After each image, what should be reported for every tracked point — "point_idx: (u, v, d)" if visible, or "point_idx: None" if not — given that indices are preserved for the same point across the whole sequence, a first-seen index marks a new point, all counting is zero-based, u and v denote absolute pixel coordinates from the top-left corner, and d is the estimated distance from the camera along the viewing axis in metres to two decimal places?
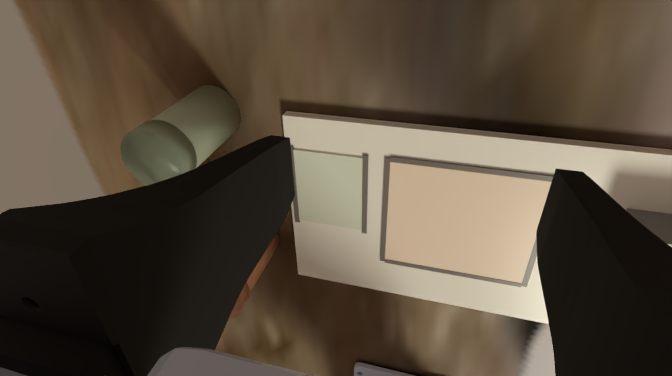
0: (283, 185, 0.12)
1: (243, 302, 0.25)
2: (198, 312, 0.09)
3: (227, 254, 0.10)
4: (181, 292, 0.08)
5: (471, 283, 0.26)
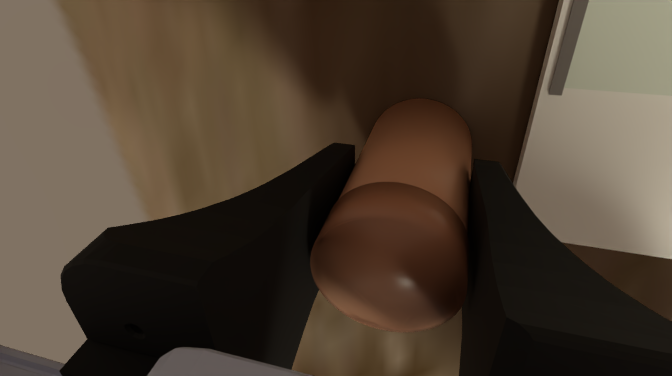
0: None
1: None
2: (282, 332, 0.09)
3: (305, 269, 0.09)
4: (272, 312, 0.08)
5: None
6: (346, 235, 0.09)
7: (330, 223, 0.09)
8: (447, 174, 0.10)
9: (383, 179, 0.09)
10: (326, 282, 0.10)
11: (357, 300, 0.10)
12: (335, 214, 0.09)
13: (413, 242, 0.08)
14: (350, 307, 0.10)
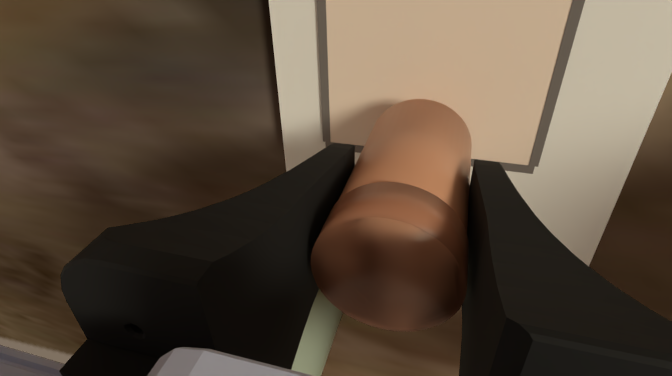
0: None
1: None
2: (282, 332, 0.09)
3: (304, 269, 0.09)
4: (272, 312, 0.08)
5: None
6: (347, 235, 0.09)
7: (331, 222, 0.09)
8: (448, 175, 0.10)
9: (384, 180, 0.09)
10: (326, 281, 0.10)
11: (357, 299, 0.10)
12: (336, 213, 0.09)
13: (414, 242, 0.08)
14: (349, 305, 0.10)
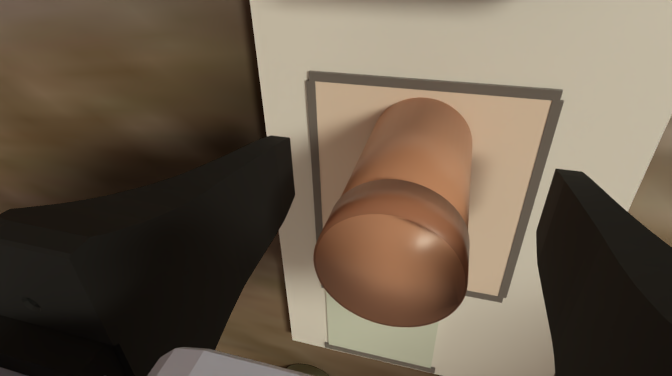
0: (283, 185, 0.12)
1: None
2: (198, 312, 0.09)
3: (227, 254, 0.10)
4: (181, 292, 0.08)
5: None
6: (349, 231, 0.09)
7: (334, 219, 0.09)
8: (449, 173, 0.10)
9: (386, 177, 0.09)
10: (328, 278, 0.10)
11: (359, 295, 0.10)
12: (339, 210, 0.09)
13: (415, 239, 0.08)
14: (351, 302, 0.10)
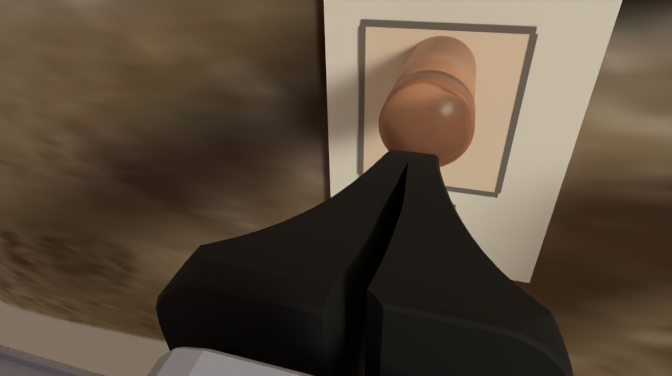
0: None
1: None
2: (359, 350, 0.08)
3: None
4: (356, 331, 0.07)
5: (536, 96, 0.19)
6: (403, 97, 0.14)
7: (394, 91, 0.15)
8: (462, 72, 0.16)
9: (424, 70, 0.15)
10: (387, 135, 0.15)
11: (406, 146, 0.15)
12: (396, 88, 0.15)
13: (444, 98, 0.14)
14: None
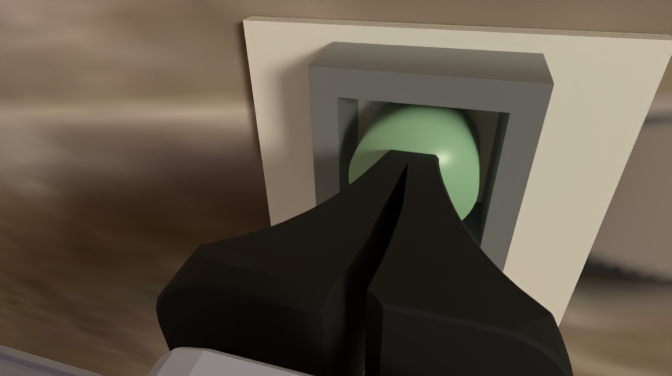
0: None
1: None
2: (359, 350, 0.08)
3: None
4: (356, 331, 0.07)
5: None
6: None
7: None
8: None
9: None
10: None
11: None
12: None
13: None
14: None
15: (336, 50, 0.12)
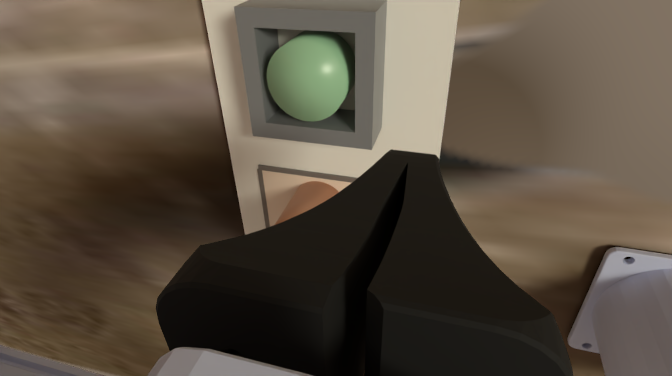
0: None
1: None
2: (359, 350, 0.08)
3: None
4: (356, 331, 0.07)
5: None
6: None
7: None
8: None
9: None
10: None
11: None
12: None
13: None
14: None
15: (257, 0, 0.19)
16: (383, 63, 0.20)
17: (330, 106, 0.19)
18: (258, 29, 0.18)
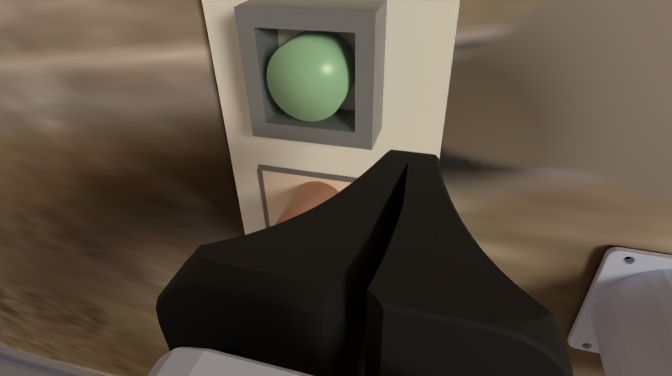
0: None
1: None
2: (359, 350, 0.08)
3: None
4: (356, 331, 0.07)
5: None
6: None
7: None
8: None
9: None
10: None
11: None
12: None
13: None
14: None
15: (257, 0, 0.19)
16: (383, 63, 0.20)
17: (330, 106, 0.19)
18: (258, 29, 0.18)
